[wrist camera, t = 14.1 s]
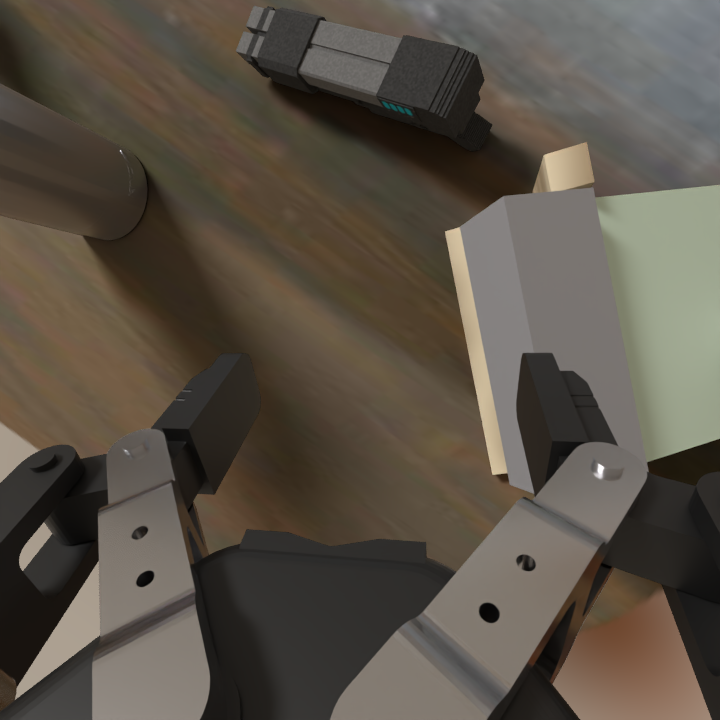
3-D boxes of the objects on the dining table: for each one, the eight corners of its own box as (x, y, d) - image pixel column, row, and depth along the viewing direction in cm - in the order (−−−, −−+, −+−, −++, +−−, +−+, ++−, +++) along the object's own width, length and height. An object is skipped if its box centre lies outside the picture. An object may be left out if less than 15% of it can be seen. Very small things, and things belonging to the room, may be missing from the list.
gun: (478, 172, 33) (422, 91, 25) (310, 124, 44) (232, 56, 36) (508, 115, 33) (460, 11, 24) (330, 80, 43) (254, 0, 35)
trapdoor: (510, 490, 23) (565, 511, 19) (458, 221, 23) (502, 189, 19) (736, 419, 28) (816, 425, 24) (693, 195, 28) (765, 165, 24)
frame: (492, 470, 34) (494, 530, 24) (446, 234, 34) (427, 189, 24) (604, 458, 32) (660, 518, 22) (554, 205, 32) (586, 142, 22)
